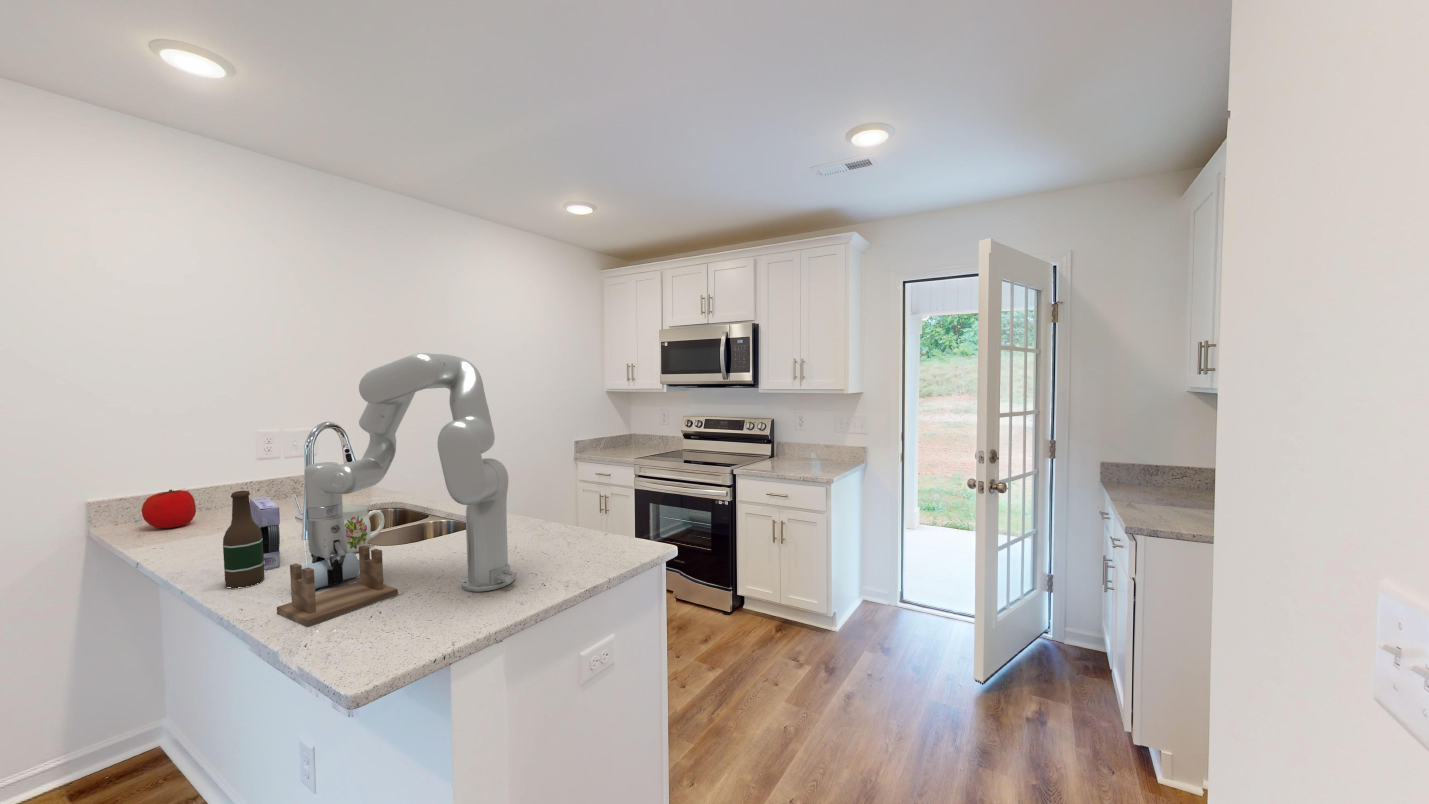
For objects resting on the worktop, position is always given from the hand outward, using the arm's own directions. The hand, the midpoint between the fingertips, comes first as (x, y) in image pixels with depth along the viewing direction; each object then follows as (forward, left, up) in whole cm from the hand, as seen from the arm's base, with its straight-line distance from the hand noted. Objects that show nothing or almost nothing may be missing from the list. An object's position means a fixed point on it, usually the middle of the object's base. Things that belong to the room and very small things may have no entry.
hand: (328, 580), depth 138 cm
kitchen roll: (0, 0, -1) cm, 1 cm away
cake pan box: (+35, 0, -1) cm, 35 cm away
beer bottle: (+20, +10, -1) cm, 22 cm away
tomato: (+114, -1, -1) cm, 114 cm away
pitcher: (+24, -18, -1) cm, 30 cm away
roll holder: (-16, +5, -1) cm, 17 cm away
